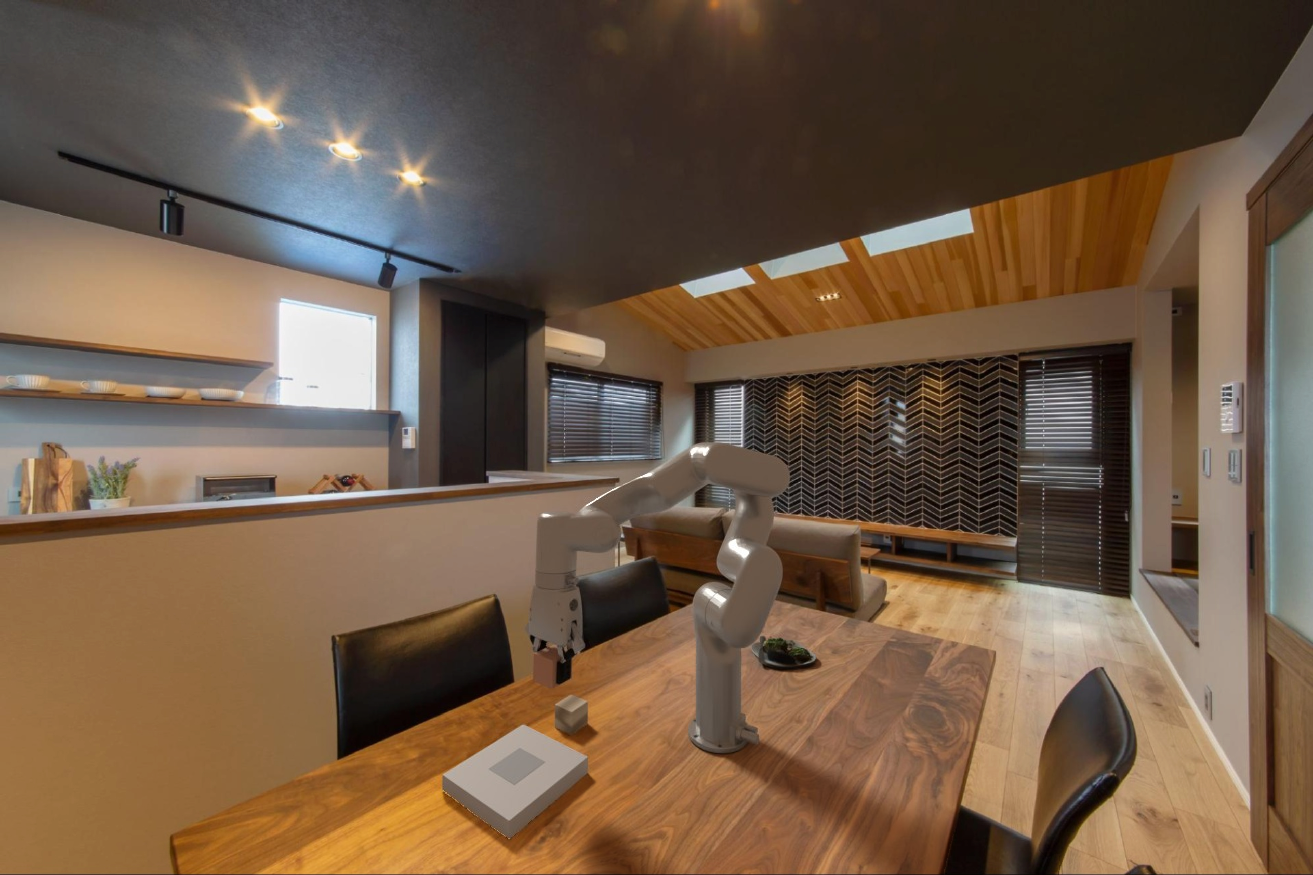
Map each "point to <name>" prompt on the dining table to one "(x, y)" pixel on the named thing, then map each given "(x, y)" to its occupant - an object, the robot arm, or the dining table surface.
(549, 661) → the terracotta cube
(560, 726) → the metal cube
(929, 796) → the dining table surface
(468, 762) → the grey base
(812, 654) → the salad plate
